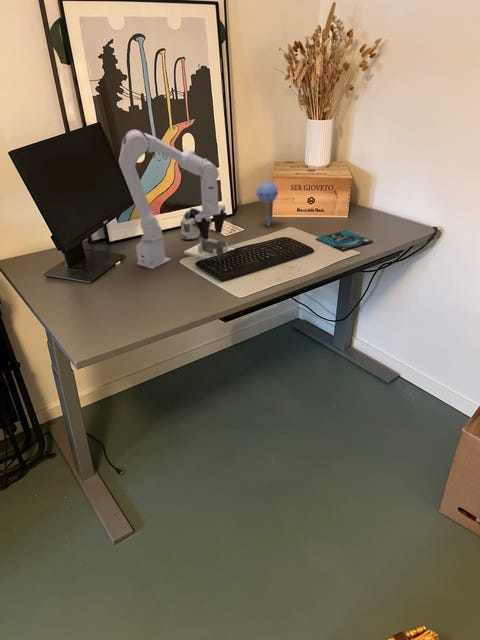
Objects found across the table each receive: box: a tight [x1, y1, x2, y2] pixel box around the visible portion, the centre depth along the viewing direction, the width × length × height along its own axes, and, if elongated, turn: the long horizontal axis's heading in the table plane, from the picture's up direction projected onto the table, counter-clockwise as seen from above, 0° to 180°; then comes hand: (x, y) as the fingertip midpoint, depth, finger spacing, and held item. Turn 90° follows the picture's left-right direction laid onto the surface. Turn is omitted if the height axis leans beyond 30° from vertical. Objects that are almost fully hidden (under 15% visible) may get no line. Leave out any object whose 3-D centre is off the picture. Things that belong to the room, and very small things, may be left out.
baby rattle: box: [256, 181, 279, 227], centre depth 198 cm, size 9×9×18 cm
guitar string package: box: [315, 229, 374, 253], centre depth 184 cm, size 15×1×15 cm
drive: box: [200, 236, 226, 255], centre depth 176 cm, size 8×4×4 cm, turn 54°
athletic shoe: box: [180, 207, 212, 241], centre depth 197 cm, size 10×23×12 cm, turn 173°
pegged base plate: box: [183, 240, 235, 259], centre depth 178 cm, size 12×16×4 cm
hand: (211, 235), depth 174 cm, fingers open, 7 cm apart
